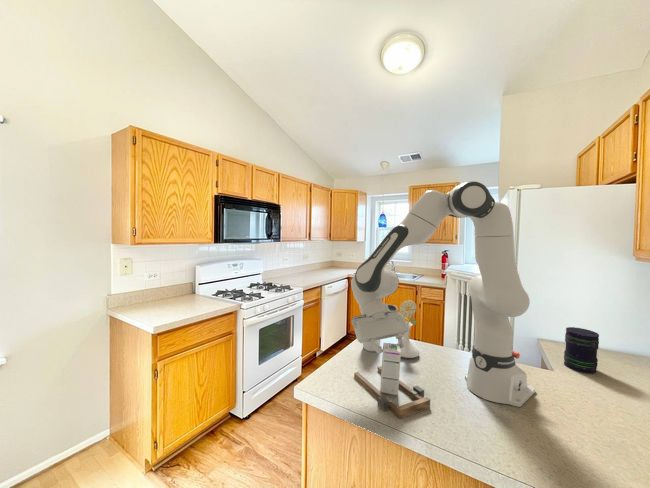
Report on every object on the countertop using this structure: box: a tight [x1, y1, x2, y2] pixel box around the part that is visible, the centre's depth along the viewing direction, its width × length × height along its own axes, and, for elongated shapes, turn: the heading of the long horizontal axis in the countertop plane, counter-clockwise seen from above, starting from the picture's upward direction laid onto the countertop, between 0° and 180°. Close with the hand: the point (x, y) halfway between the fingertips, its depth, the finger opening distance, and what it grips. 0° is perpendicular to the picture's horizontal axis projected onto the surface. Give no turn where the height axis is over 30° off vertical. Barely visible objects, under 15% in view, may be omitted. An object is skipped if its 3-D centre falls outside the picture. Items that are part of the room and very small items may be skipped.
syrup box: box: [379, 342, 402, 396], centre depth 90 cm, size 6×6×14 cm
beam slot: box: [354, 365, 431, 420], centre depth 91 cm, size 16×24×2 cm, turn 26°
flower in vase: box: [396, 299, 420, 359], centre depth 117 cm, size 13×11×25 cm
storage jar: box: [563, 326, 600, 375], centre depth 109 cm, size 10×10×15 cm
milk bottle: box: [362, 339, 381, 353], centre depth 124 cm, size 8×8×20 cm
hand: (391, 350), depth 90 cm, fingers closed on syrup box, 8 cm apart
